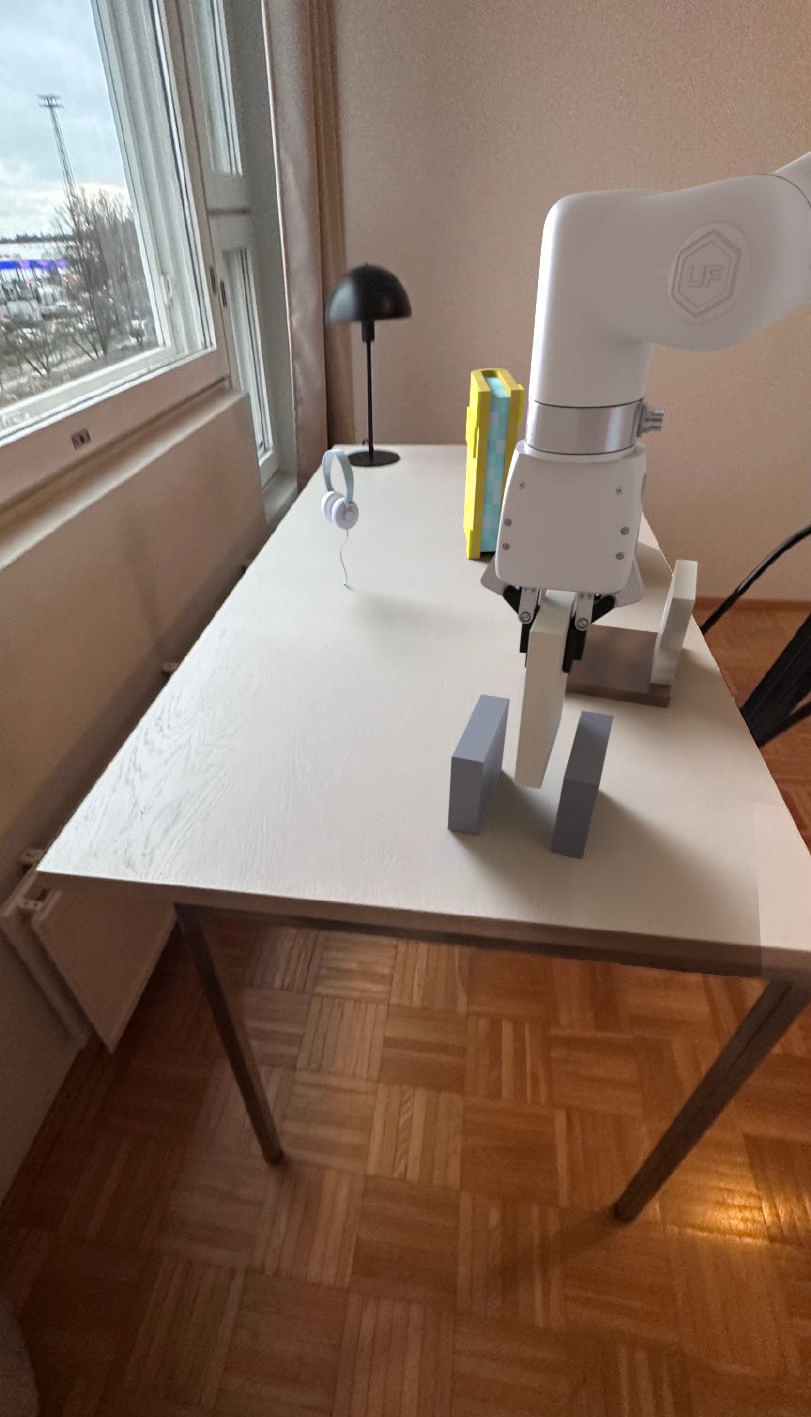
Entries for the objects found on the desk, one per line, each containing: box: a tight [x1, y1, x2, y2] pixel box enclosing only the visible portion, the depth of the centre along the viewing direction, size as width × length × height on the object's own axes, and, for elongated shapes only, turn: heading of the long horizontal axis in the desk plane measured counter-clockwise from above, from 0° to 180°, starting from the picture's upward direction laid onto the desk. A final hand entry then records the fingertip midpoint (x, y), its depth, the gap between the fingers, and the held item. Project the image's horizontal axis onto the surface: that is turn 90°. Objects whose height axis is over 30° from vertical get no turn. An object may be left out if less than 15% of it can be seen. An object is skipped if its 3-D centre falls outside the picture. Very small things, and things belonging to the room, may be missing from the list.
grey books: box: [447, 693, 614, 860], centre depth 69 cm, size 13×11×9 cm
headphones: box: [320, 448, 360, 585], centre depth 108 cm, size 8×4×20 cm, turn 27°
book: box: [462, 367, 525, 560], centre depth 118 cm, size 17×7×25 cm, turn 179°
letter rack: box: [539, 559, 699, 709], centre depth 88 cm, size 17×16×12 cm
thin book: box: [513, 590, 578, 790], centre depth 62 cm, size 2×11×15 cm, turn 159°
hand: (550, 661), depth 60 cm, fingers closed on thin book, 2 cm apart
